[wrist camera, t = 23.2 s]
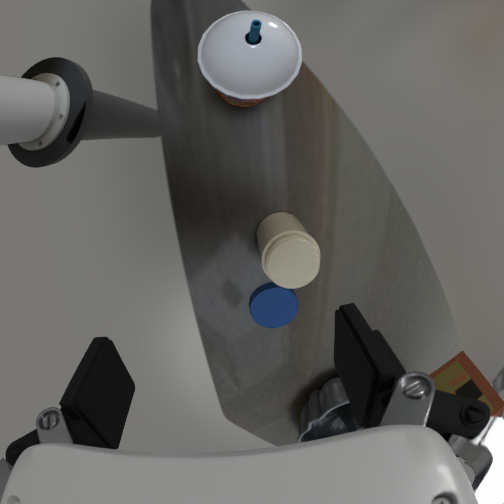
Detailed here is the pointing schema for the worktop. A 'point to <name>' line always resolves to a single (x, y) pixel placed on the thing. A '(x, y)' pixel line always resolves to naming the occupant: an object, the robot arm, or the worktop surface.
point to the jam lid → (273, 305)
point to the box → (467, 383)
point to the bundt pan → (327, 413)
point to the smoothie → (249, 57)
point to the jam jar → (287, 251)
